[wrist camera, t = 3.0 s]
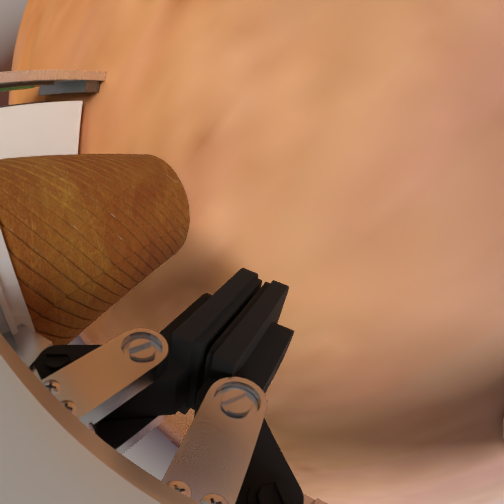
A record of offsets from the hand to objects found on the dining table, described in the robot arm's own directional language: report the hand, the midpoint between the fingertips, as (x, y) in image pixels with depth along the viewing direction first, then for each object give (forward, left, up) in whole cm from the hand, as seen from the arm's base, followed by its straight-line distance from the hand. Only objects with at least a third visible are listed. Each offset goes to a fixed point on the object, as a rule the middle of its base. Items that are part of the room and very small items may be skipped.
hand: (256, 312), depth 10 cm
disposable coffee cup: (+9, 0, -4) cm, 10 cm away
